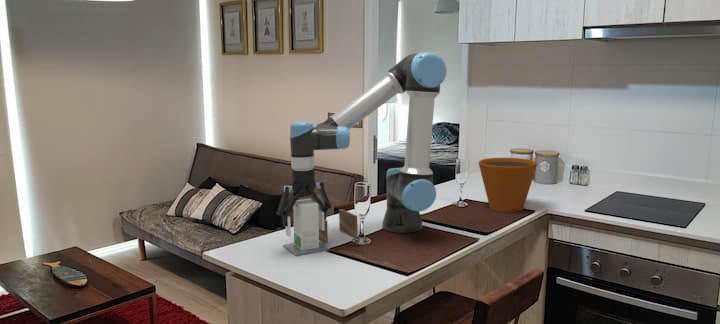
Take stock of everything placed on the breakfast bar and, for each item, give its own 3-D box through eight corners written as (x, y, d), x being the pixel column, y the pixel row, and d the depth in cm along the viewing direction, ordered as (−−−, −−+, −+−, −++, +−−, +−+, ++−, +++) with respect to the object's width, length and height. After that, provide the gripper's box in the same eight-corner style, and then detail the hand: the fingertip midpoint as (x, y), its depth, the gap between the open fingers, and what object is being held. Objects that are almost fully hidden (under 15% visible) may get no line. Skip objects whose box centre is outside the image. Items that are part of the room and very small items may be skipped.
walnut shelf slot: (342, 229, 202) (341, 209, 201) (357, 237, 192) (357, 215, 191) (310, 235, 196) (310, 213, 195) (324, 243, 186) (324, 221, 185)
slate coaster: (314, 240, 190) (314, 239, 189) (329, 249, 179) (329, 248, 179) (282, 246, 184) (282, 244, 184) (296, 256, 173) (296, 254, 173)
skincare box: (293, 244, 184) (291, 200, 181) (311, 241, 186) (310, 198, 184) (301, 251, 176) (300, 205, 174) (320, 248, 179) (319, 202, 176)
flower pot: (515, 218, 214) (516, 168, 210) (466, 207, 231) (467, 162, 228) (546, 207, 229) (548, 161, 226) (499, 198, 247) (499, 155, 243)
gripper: (330, 163, 186) (332, 224, 190) (264, 170, 175) (267, 235, 178) (340, 166, 180) (342, 229, 183) (272, 174, 168) (275, 241, 172)
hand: (305, 232), depth 181 cm, fingers open, 11 cm apart
